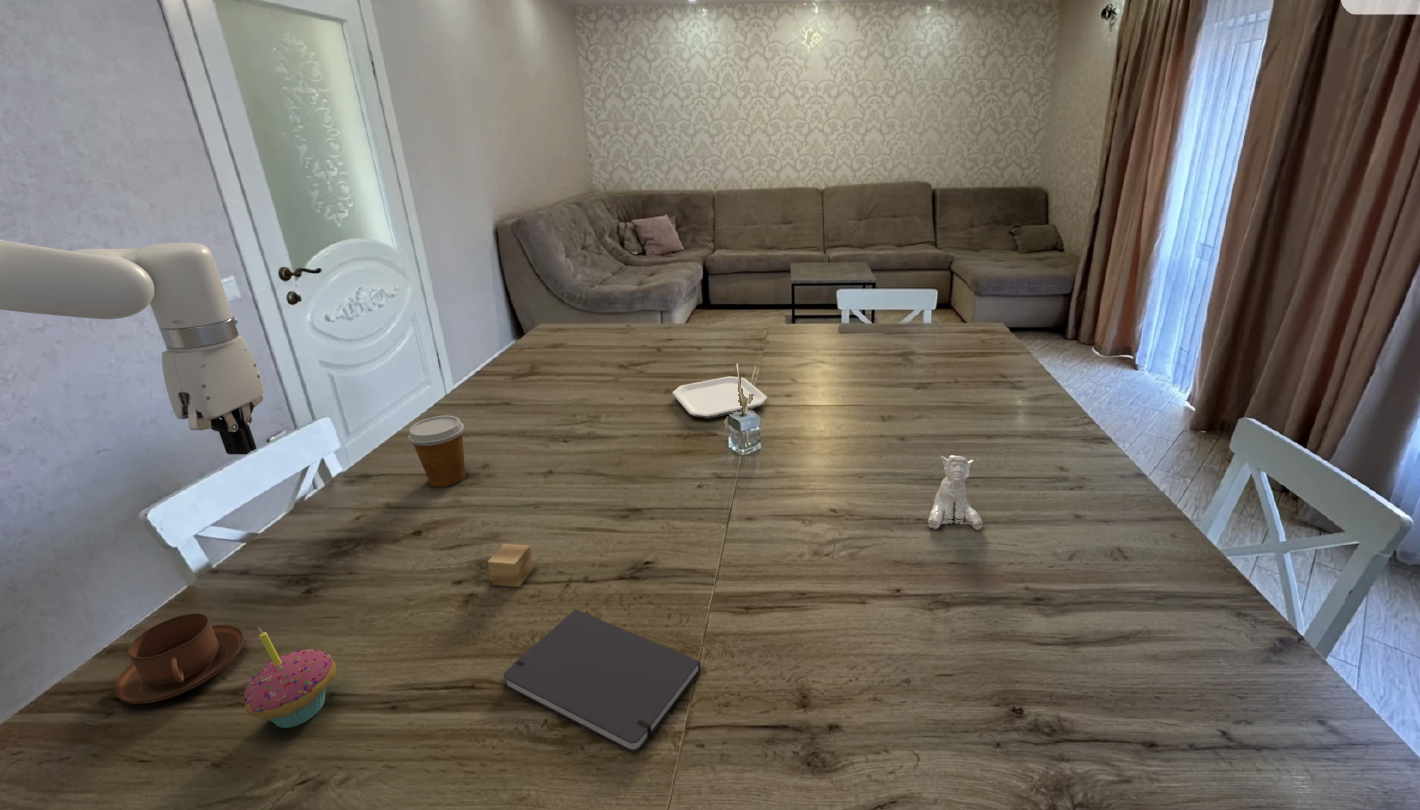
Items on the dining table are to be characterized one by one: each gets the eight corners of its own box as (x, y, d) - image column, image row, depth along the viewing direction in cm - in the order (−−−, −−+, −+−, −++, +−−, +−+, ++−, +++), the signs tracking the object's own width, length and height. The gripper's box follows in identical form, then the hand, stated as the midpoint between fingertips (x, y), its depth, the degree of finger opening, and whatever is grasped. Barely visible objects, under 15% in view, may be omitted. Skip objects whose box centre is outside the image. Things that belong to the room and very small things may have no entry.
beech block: (519, 587, 93) (514, 564, 92) (492, 585, 94) (487, 561, 92) (534, 568, 97) (529, 545, 96) (508, 566, 98) (503, 543, 96)
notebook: (700, 670, 79) (576, 617, 87) (700, 661, 78) (575, 608, 87) (636, 755, 68) (502, 684, 77) (635, 745, 67) (500, 675, 76)
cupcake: (237, 731, 71) (202, 652, 67) (310, 673, 78) (283, 598, 74) (292, 751, 69) (258, 671, 64) (361, 689, 76) (336, 614, 72)
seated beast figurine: (928, 530, 106) (933, 470, 102) (919, 502, 114) (924, 445, 110) (982, 531, 106) (990, 471, 102) (970, 503, 114) (977, 446, 110)
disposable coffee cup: (480, 479, 122) (468, 426, 118) (426, 497, 116) (412, 441, 112) (466, 461, 129) (455, 410, 125) (415, 477, 123) (401, 424, 119)
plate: (668, 395, 161) (668, 387, 160) (740, 381, 170) (740, 373, 169) (695, 426, 144) (694, 418, 143) (773, 408, 153) (773, 400, 152)
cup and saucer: (266, 654, 81) (251, 618, 79) (147, 728, 71) (126, 689, 69) (219, 625, 86) (204, 590, 84) (102, 690, 76) (81, 652, 74)
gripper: (222, 319, 92) (259, 429, 98) (117, 351, 77) (168, 477, 84) (272, 319, 91) (305, 429, 98) (175, 352, 77) (222, 478, 84)
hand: (242, 451), depth 91 cm, fingers closed
